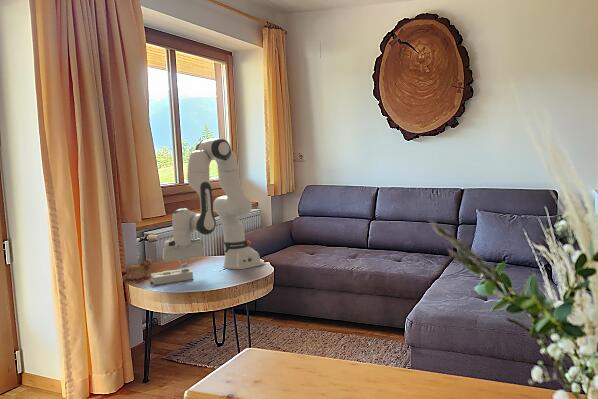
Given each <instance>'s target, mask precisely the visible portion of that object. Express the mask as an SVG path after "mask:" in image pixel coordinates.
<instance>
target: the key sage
mask: <svg viewBox="0 0 598 399" xmlns="http://www.w3.org/2000/svg"><path fill="white" fill-rule="evenodd" d="M170 271H171V270H163V271H162V272H163V275H166V274H171V272H170Z"/></svg>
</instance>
